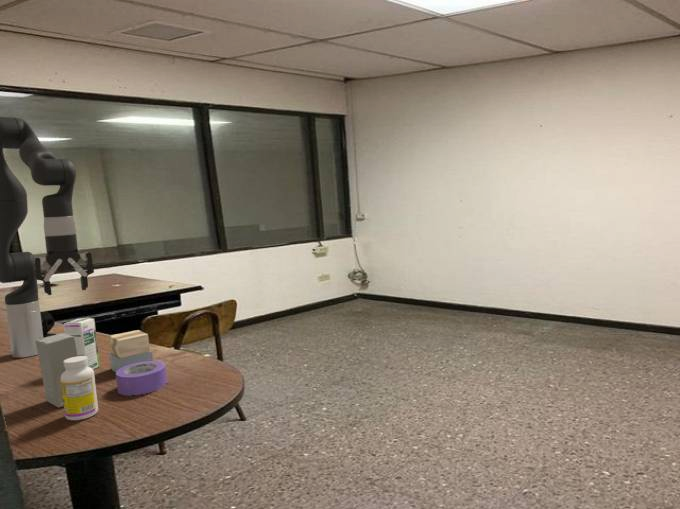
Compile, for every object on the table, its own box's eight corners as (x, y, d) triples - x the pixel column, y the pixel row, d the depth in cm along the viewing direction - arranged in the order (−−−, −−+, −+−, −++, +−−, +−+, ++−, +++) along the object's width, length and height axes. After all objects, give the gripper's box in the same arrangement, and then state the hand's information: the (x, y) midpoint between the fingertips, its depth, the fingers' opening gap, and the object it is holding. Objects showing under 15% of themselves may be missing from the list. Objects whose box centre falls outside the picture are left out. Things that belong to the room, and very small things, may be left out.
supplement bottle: (73, 410, 117) (66, 355, 116) (103, 407, 118) (97, 353, 116) (59, 423, 110) (52, 365, 109) (91, 420, 111) (84, 362, 110)
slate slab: (111, 369, 147) (109, 352, 146) (142, 362, 152) (141, 345, 152) (120, 377, 140) (118, 359, 139) (153, 368, 145) (152, 351, 145)
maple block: (111, 352, 146) (109, 335, 145) (140, 346, 151) (138, 329, 150) (120, 358, 140) (118, 340, 139) (149, 351, 145) (148, 334, 144)
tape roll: (147, 397, 123) (145, 377, 122) (107, 394, 126) (104, 375, 126) (176, 380, 134) (174, 361, 134) (139, 378, 138) (137, 360, 137)
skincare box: (86, 400, 123) (79, 335, 121) (53, 410, 118) (45, 342, 116) (73, 392, 129) (66, 330, 127) (41, 401, 124) (34, 337, 122)
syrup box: (87, 373, 144) (81, 322, 142) (68, 372, 145) (62, 322, 144) (100, 366, 150) (95, 317, 148) (82, 366, 151) (77, 317, 149)
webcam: (45, 342, 182) (42, 314, 181) (28, 342, 184) (25, 314, 183) (62, 336, 190) (59, 309, 189) (45, 336, 192) (42, 310, 190)
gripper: (85, 231, 147) (91, 287, 149) (28, 235, 138) (35, 294, 140) (92, 231, 141) (98, 290, 143) (32, 236, 132) (39, 298, 134)
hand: (66, 292), depth 141 cm, fingers open, 8 cm apart
